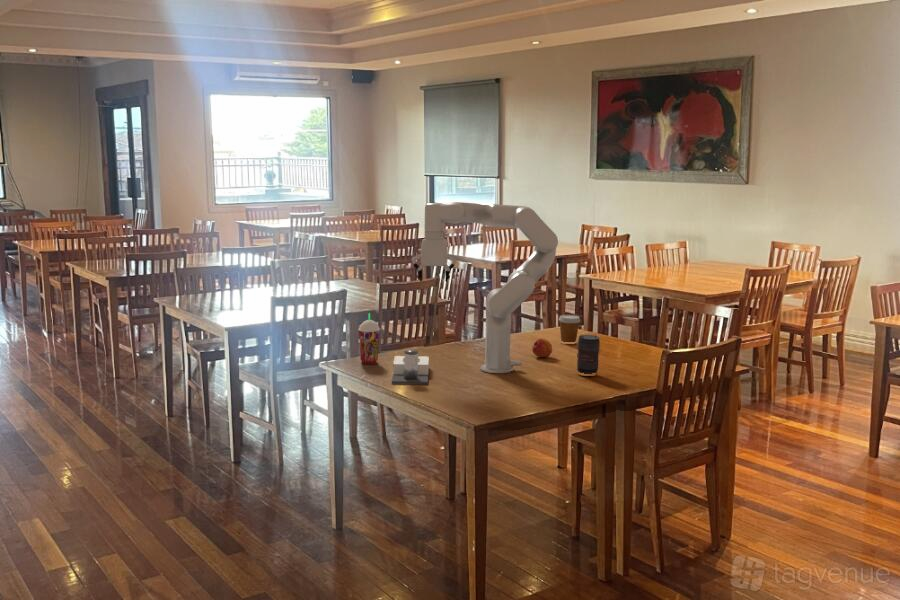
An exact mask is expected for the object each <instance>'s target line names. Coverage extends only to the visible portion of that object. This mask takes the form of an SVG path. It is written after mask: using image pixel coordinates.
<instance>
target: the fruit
mask: <svg viewBox="0 0 900 600" xmlns="http://www.w3.org/2000/svg"><path fill="white" fill-rule="evenodd" d="M531 350H532V353H533V355H535V356H536V357H539V358H541V357H546V358H549V357H550V355H551V354H552V353H553V346H552V343H550V341H548V340H547V339H545V338H539V339H537V340H536V341H535V342H534V343H533V346H532V348H531Z"/></svg>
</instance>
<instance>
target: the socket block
mask: <svg viewBox="0 0 900 600" xmlns="http://www.w3.org/2000/svg"><path fill="white" fill-rule="evenodd" d="M404 356H405V355H395V356H394V359H393V364H392V365H393V368H392V369H393V370H392V371H393V373H392V375H393V374H404ZM429 361H430V360H429V356H425V355H424V356H422V355H421V356H419V355H418V375H428V376H429V366H430V364H429V363H430V362H429Z"/></svg>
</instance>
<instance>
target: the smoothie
mask: <svg viewBox="0 0 900 600" xmlns="http://www.w3.org/2000/svg"><path fill="white" fill-rule="evenodd" d="M367 315H368V316H367V317H368V319H367V320H364V321H363V322H362V323H361V324H360V326H359V328H358V338H359V355H360V361H361V363H362V364H363V365H368V364H371V365H375V364H377V361H378V360H379V348H380V347H379V346H380V334H381V333H380V332H381V331H380V330H381V328H380V327H379V324H378V323H377V322H376V321H375V320H372V319H371V312H368V314H367Z"/></svg>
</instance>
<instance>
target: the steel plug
mask: <svg viewBox="0 0 900 600" xmlns="http://www.w3.org/2000/svg"><path fill="white" fill-rule="evenodd" d="M403 356H404V378H405V379H411V380H412V379H417V375H418V356H419V350H417V349H404V355H403Z"/></svg>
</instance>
